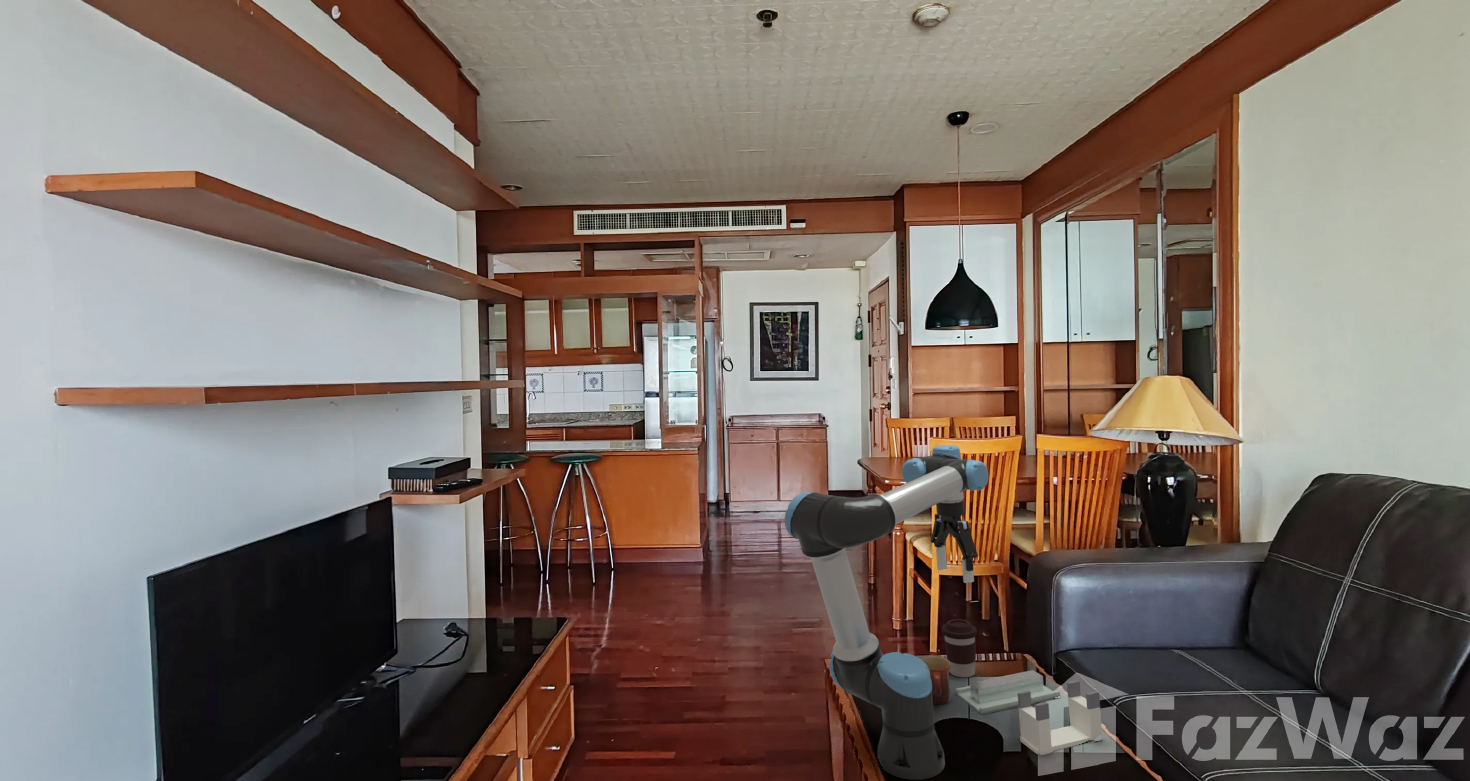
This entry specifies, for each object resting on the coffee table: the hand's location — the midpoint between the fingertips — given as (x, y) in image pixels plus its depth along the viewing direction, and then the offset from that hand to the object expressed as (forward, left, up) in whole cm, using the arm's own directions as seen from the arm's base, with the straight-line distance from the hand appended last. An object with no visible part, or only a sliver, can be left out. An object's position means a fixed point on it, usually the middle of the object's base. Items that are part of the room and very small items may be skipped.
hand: (955, 575), depth 185 cm
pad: (+9, -8, -32) cm, 34 cm away
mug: (-10, -4, -33) cm, 34 cm away
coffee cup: (+6, +9, -33) cm, 34 cm away
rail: (+9, -8, -32) cm, 34 cm away
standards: (+7, -31, -32) cm, 45 cm away
